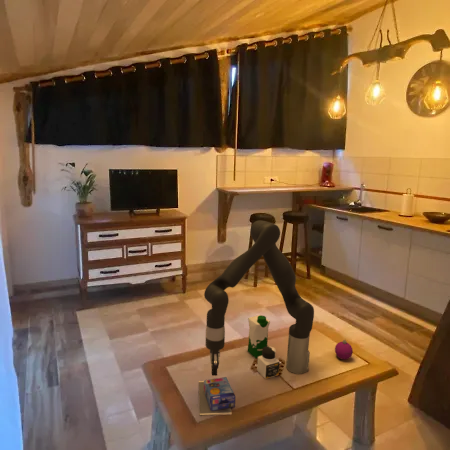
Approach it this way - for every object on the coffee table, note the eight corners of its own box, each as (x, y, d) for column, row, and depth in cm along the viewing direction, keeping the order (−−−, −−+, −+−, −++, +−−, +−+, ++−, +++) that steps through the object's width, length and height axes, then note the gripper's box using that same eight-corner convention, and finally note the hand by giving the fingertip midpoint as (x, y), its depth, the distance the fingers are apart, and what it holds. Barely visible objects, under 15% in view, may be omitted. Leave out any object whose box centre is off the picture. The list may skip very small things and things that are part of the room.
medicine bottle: (265, 379, 161) (267, 354, 158) (256, 370, 167) (258, 346, 164) (278, 375, 164) (280, 350, 161) (269, 366, 170) (271, 343, 167)
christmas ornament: (339, 351, 184) (341, 333, 182) (354, 358, 179) (356, 339, 177) (331, 357, 179) (332, 339, 176) (346, 365, 173) (348, 345, 171)
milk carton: (255, 360, 175) (257, 321, 170) (244, 351, 182) (246, 313, 178) (270, 355, 179) (272, 317, 175) (258, 346, 187) (260, 309, 182)
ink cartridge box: (226, 375, 153) (238, 399, 139) (226, 387, 154) (237, 411, 141) (203, 379, 150) (212, 404, 137) (203, 391, 151) (212, 416, 138)
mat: (226, 381, 159) (226, 380, 159) (231, 414, 139) (231, 413, 139) (198, 382, 158) (198, 381, 158) (199, 415, 138) (199, 414, 138)
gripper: (226, 344, 139) (224, 384, 142) (223, 326, 152) (222, 364, 155) (206, 344, 138) (205, 385, 142) (205, 327, 151) (204, 365, 155)
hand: (214, 374), depth 149 cm, fingers closed
